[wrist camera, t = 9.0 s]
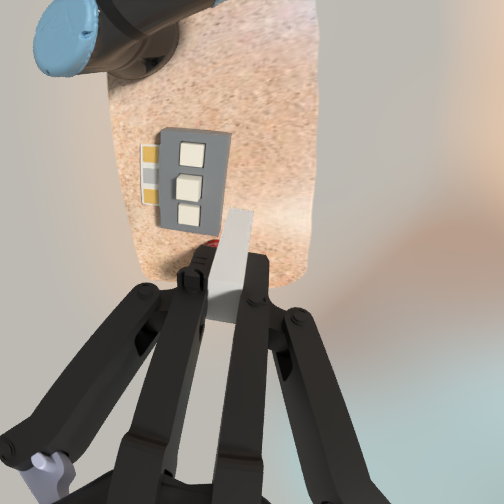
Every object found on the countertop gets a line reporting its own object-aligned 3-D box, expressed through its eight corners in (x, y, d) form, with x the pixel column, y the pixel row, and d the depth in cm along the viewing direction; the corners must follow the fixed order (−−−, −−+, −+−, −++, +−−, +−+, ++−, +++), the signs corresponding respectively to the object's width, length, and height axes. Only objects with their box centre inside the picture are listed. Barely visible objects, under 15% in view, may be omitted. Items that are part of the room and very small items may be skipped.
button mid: (180, 173, 46) (176, 178, 44) (202, 176, 46) (198, 181, 44) (180, 193, 49) (176, 199, 47) (200, 196, 49) (197, 201, 47)
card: (141, 143, 45) (140, 144, 45) (162, 144, 45) (161, 145, 45) (142, 202, 53) (141, 204, 53) (161, 205, 53) (160, 206, 53)
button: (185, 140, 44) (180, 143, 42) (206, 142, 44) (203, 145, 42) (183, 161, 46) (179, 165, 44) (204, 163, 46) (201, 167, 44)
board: (166, 127, 43) (160, 130, 41) (231, 133, 44) (229, 136, 41) (165, 220, 55) (160, 227, 53) (220, 228, 56) (218, 236, 53)
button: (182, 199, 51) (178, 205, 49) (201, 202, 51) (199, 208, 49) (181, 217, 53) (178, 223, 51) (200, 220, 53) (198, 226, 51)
